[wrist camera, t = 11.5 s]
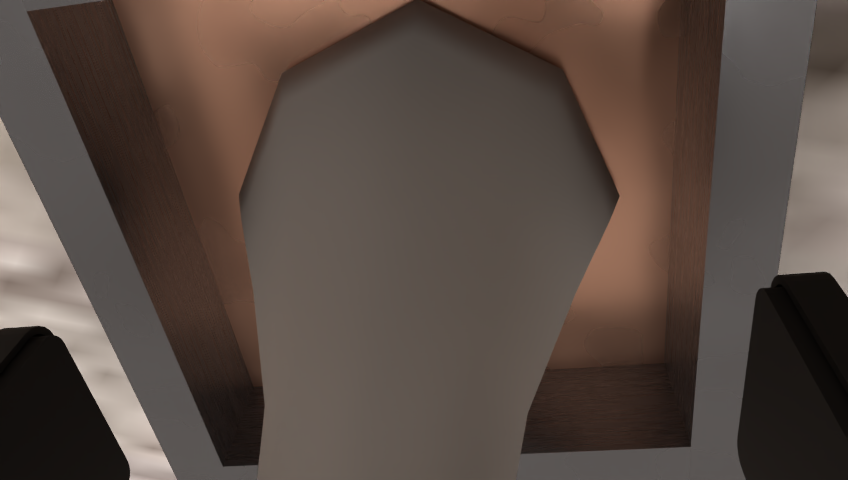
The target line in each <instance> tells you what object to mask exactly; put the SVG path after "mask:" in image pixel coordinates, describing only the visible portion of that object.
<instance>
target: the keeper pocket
mask: <svg viewBox="0 0 848 480" xmlns="http://www.w3.org/2000/svg"><path fill="white" fill-rule="evenodd" d="M413 1H414V0H0V117H1V119H2V121H3V123H4V125H5V127H6V129H7V131H8V133H9V136H10V138H11V140H12V142H13V144H14V146H15V148H16V150H17V152H18V154H19V156H20V158H21V160H22V162H23V164H24V166H25V168H26V170H27V172H28V175H29V177H30V179H31V181H32V183H33V185H34V187H35V189H36V191H37V193H38V195H39V197H40V199H41V201H42V203H43V205H44V207H45V209H46V211H47V213H48V216H49V218H50V220H51V222H52V224H53V226H54V228H55V230H56V232H57V234H58V236H59V238H60V240H61V242H62V244H63V246H64V248H65V250H66V252H67V254H68V257H69V259H70V261H71V263H72V265H73V267H74V269H75V271H76V273H77V275H78V277H79V279H80V281H81V283H82V285H83V287H84V289H85V291H86V293H87V295H88V298H89V300H90V302H91V304H92V306H93V308H94V310H95V312H96V314H97V316H98V318H99V320H100V322H101V324H102V326H103V328H104V330H105V332H106V334H107V336H108V339H109V341H110V343H111V345H112V347H113V349H114V351H115V353H116V355H117V357H118V359H119V361H120V363H121V365H122V367H123V369H124V371H125V373H126V375H127V378H128V380H129V382H130V384H131V386H132V388H133V390H134V392H135V394H136V396H137V398H138V400H139V402H140V404H141V406H142V408H143V410H144V412H145V414H146V416H147V419H148V421H149V423H150V425H151V427H152V429H153V431H154V433H155V435H156V437H157V439H158V441H159V443H160V445H161V447H162V449H163V451H164V453H165V455H166V457H167V460H168V462H169V464H170V466H171V468H172V470H173V472H174V474H175V476H176V478H177V480H257V474H258V464H259V455H260V446H261V437H262V428H263V419H264V410H265V403H264V393H263V383H262V373H261V363H260V353H259V343H258V333H257V323H256V313H255V303H254V294H253V286H252V280H251V274H250V269H249V263H248V257H247V251H246V245H245V239H244V233H243V227H242V221H241V213H240V204H239V192H240V190H241V187H242V184H243V181H244V178H245V176H246V173H247V170H248V167H249V164H250V161H251V159H252V156H253V153H254V150H255V147H256V145H257V142H258V139H259V136H260V133H261V131H262V128H263V125H264V122H265V119H266V116H267V114H268V111H269V108H270V105H271V102H272V100H273V97H274V94H275V91H276V88H277V85H278V83H279V80H280V77H281V74H282V73H283V72H285V71H287V70H288V69H290V68H292V67H294V66H296V65H297V64H299V63H301V62H303V61H305V60H307V59H308V58H310V57H312V56H314V55H316V54H318V53H319V52H321V51H323V50H325V49H327V48H329V47H330V46H332V45H334V44H336V43H338V42H340V41H341V40H343V39H345V38H347V37H349V36H350V35H352V34H354V33H356V32H358V31H360V30H361V29H363V28H365V27H367V26H369V25H371V24H372V23H374V22H376V21H378V20H380V19H382V18H383V17H385V16H387V15H389V14H391V13H393V12H394V11H396V10H398V9H400V8H402V7H403V6H405V5H407V4H409V3H411V2H413ZM420 1H423V2H425V3H427V4H429V5H431V6H433V7H435V8H437V9H439V10H441V11H443V12H445V13H447V14H449V15H451V16H453V17H455V18H458V19H460V20H462V21H464V22H466V23H468V24H470V25H472V26H474V27H476V28H478V29H480V30H482V31H484V32H486V33H488V34H491V35H493V36H495V37H497V38H499V39H501V40H503V41H505V42H507V43H509V44H511V45H513V46H515V47H517V48H519V49H521V50H523V51H526V52H528V53H530V54H532V55H534V56H536V57H538V58H540V59H542V60H544V61H546V62H548V63H550V64H552V65H554V66H556V67H558V68H561V69H563V71H564V73H565V75H566V78H567V80H568V82H569V84H570V86H571V89H572V91H573V93H574V95H575V98H576V100H577V102H578V104H579V106H580V109H581V111H582V113H583V115H584V117H585V120H586V122H587V124H588V126H589V129H590V131H591V133H592V135H593V137H594V140H595V142H596V144H597V146H598V148H599V151H600V153H601V155H602V157H603V159H604V162H605V164H606V166H607V168H608V171H609V173H610V175H611V177H612V179H613V182H614V184H615V186H616V188H617V190H618V193H619V195H620V197H619V199H618V202H617V204H616V207H615V209H614V212H613V214H612V217H611V219H610V221H609V224H608V226H607V228H606V230H605V232H604V234H603V236H602V238H601V241H600V243H599V245H598V247H597V249H596V251H595V253H594V255H593V258H592V260H591V262H590V264H589V266H588V268H587V270H586V272H585V275H584V277H583V279H582V281H581V283H580V285H579V287H578V289H577V291H576V294H575V296H574V299H573V301H572V304H571V306H570V309H569V311H568V314H567V316H566V319H565V321H564V324H563V326H562V329H561V331H560V334H559V336H558V339H557V341H556V344H555V346H554V349H553V351H552V354H551V356H550V359H549V361H548V364H547V366H546V369H545V371H544V374H543V376H542V379H541V381H540V384H539V386H538V389H537V391H536V394H535V396H534V399H533V401H532V404H531V406H530V409H529V411H528V415H527V420H526V426H525V431H524V437H523V443H522V448H521V454H520V459H519V465H518V471H517V476H516V480H746V479H745V476H744V473H743V471H742V468H741V465H740V461H739V456H738V449H737V436H738V429H739V421H740V413H741V406H742V398H743V390H744V382H745V375H746V367H747V359H748V352H749V344H750V336H751V329H752V321H753V313H754V306H755V298H756V294H757V291H758V289H760V288H770V287H771V283H772V281H773V279H774V277H775V276H777V275H778V268H779V261H780V254H781V247H782V240H783V233H784V226H785V219H786V213H787V206H788V199H789V192H790V185H791V178H792V171H793V164H794V157H795V150H796V144H797V137H798V130H799V123H800V116H801V109H802V102H803V95H804V88H805V81H806V75H807V68H808V61H809V54H810V47H811V40H812V33H813V26H814V19H815V12H816V6H817V0H420Z"/></svg>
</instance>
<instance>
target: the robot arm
mask: <svg viewBox="0 0 848 480" xmlns="http://www.w3.org/2000/svg"><path fill="white" fill-rule="evenodd" d="M737 449H738V456H739V461H740V465H741V468H742V471H743V473H744V476H745V479H746V480H848V297H847V296H846V294H845V293H844V291H843V290H842V289H841V287H840V286H839V284H838V283H837V281H836V280H835V279H834V278H833V277H832V275H831V274H830V273H827V272H816V273H801V274H787V275H777V276H775V277H774V279H773V281H772V283H771V287H770V288H760V289H758V291H757V294H756V298H755V306H754V313H753V321H752V329H751V336H750V344H749V352H748V359H747V367H746V375H745V382H744V390H743V398H742V406H741V413H740V421H739V429H738V436H737ZM129 478H130V468H129V464H128V461H127V459H126V457H125V455H124V453H123V451H122V450H121V448H120V446H119V444H118V442H117V440H116V438H115V437H114V435H113V433H112V431H111V429H110V427H109V425H108V424H107V422H106V420H105V418H104V416H103V414H102V412H101V410H100V409H99V407H98V405H97V403H96V401H95V399H94V397H93V396H92V394H91V392H90V390H89V388H88V386H87V384H86V383H85V381H84V379H83V377H82V375H81V373H80V371H79V370H78V368H77V366H76V364H75V362H74V360H73V358H72V357H71V355H70V353H69V351H68V349H67V347H66V345H65V343H64V342H63V341H62V339H61V338H59V337H58V336H54V335H53V334H52V332H51V331H50V330H49V329H47V328H45V327H41V326H32V327H18V328H4V329H1V330H0V480H129Z"/></svg>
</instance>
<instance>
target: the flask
mask: <svg viewBox="0 0 848 480" xmlns="http://www.w3.org/2000/svg"><path fill="white" fill-rule="evenodd" d="M619 197H620V195H619V193H618V190H617V188H616V186H615V184H614V182H613V179H612V177H611V175H610V173H609V171H608V168H607V166H606V164H605V162H604V159H603V157H602V155H601V153H600V151H599V148H598V146H597V144H596V142H595V140H594V137H593V135H592V133H591V131H590V129H589V126H588V124H587V122H586V120H585V117H584V115H583V113H582V111H581V109H580V106H579V104H578V102H577V100H576V98H575V95H574V93H573V91H572V89H571V86H570V84H569V82H568V80H567V78H566V75H565V73H564V71H563V69H561V68H558V67H556V66H554V65H552V64H550V63H548V62H546V61H544V60H542V59H540V58H538V57H536V56H534V55H532V54H530V53H528V52H526V51H523V50H521V49H519V48H517V47H515V46H513V45H511V44H509V43H507V42H505V41H503V40H501V39H499V38H497V37H495V36H493V35H491V34H488V33H486V32H484V31H482V30H480V29H478V28H476V27H474V26H472V25H470V24H468V23H466V22H464V21H462V20H460V19H458V18H455V17H453V16H451V15H449V14H447V13H445V12H443V11H441V10H439V9H437V8H435V7H433V6H431V5H429V4H427V3H425V2H423V1H420V0H414V1H413V2H411V3H409V4H407V5H405V6H403V7H402V8H400V9H398V10H396V11H394V12H393V13H391V14H389V15H387V16H385V17H383V18H382V19H380V20H378V21H376V22H374V23H372V24H371V25H369V26H367V27H365V28H363V29H361V30H360V31H358V32H356V33H354V34H352V35H350V36H349V37H347V38H345V39H343V40H341V41H340V42H338V43H336V44H334V45H332V46H330V47H329V48H327V49H325V50H323V51H321V52H319V53H318V54H316V55H314V56H312V57H310V58H308V59H307V60H305V61H303V62H301V63H299V64H297V65H296V66H294V67H292V68H290V69H288V70H287V71H285V72H283V73H282V74H281V77H280V80H279V83H278V85H277V88H276V91H275V94H274V97H273V100H272V102H271V105H270V108H269V111H268V114H267V116H266V119H265V122H264V125H263V128H262V131H261V133H260V136H259V139H258V142H257V145H256V147H255V150H254V153H253V156H252V159H251V161H250V164H249V167H248V170H247V173H246V176H245V178H244V181H243V184H242V187H241V190H240V192H239V204H240V213H241V221H242V227H243V233H244V239H245V245H246V251H247V257H248V263H249V269H250V274H251V280H252V286H253V294H254V303H255V313H256V323H257V333H258V343H259V353H260V363H261V373H262V383H263V393H264V403H265V410H264V419H263V428H262V437H261V446H260V455H259V464H258V474H257V480H516V476H517V471H518V465H519V459H520V454H521V448H522V443H523V437H524V431H525V426H526V420H527V415H528V411H529V409H530V406H531V404H532V401H533V399H534V396H535V394H536V391H537V389H538V386H539V384H540V381H541V379H542V376H543V374H544V371H545V369H546V366H547V364H548V361H549V359H550V356H551V354H552V351H553V349H554V346H555V344H556V341H557V339H558V336H559V334H560V331H561V329H562V326H563V324H564V321H565V319H566V316H567V314H568V311H569V309H570V306H571V304H572V301H573V299H574V296H575V294H576V291H577V289H578V287H579V285H580V283H581V281H582V279H583V277H584V275H585V272H586V270H587V268H588V266H589V264H590V262H591V260H592V258H593V255H594V253H595V251H596V249H597V247H598V245H599V243H600V241H601V238H602V236H603V234H604V232H605V230H606V228H607V226H608V224H609V221H610V219H611V217H612V214H613V212H614V209H615V207H616V204H617V202H618V199H619Z"/></svg>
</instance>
